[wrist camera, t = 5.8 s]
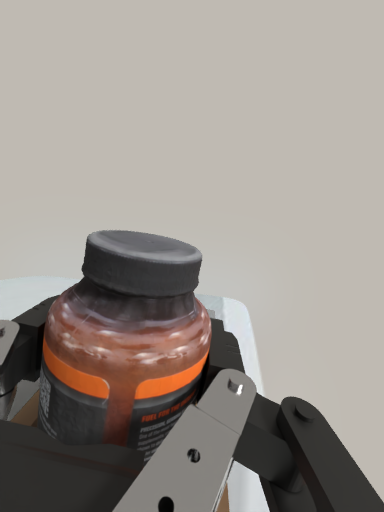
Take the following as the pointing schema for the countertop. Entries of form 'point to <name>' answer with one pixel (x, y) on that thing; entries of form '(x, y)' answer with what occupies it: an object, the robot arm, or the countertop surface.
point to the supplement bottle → (124, 344)
